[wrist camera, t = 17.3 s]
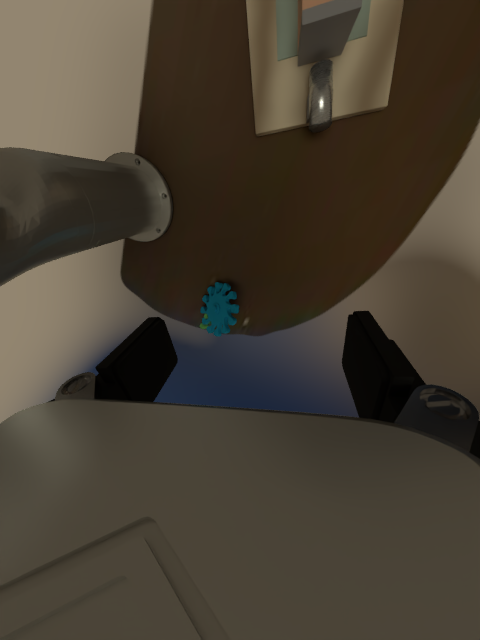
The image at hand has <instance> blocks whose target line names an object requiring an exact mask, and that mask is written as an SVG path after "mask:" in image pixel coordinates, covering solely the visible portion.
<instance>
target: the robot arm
mask: <svg viewBox="0 0 480 640" xmlns="http://www.w3.org/2000/svg"><path fill="white" fill-rule="evenodd" d="M165 195H167V198H166V196H165ZM172 215H173V202H172V197H171V193H170V190H169V187H168V185H167V183H166V181H165V179H164V177H163V176H162V174H161V173H160V172H159V170H158V169H157V168H156V167H155V166H154V165H153V164H152V163H151V162H149V161H148V160H146V159H145V158H143V157H141V156H139V155H136V154H132V153H125V152H121V153H117V154H113V155H112V156H110V157H108V158H107V159H106V160H105V161H98V160H92V159H86V158H79V157H73V156H67V155H61V154H55V153H48V152H42V151H35V150H30V149H24V148H11V147H9V148H0V286H2V285H3V284H5V283H7V282H9V281H10V280H12V279H14V278H15V277H17V276H19V275H21V274H23V273H25V272H26V271H28V270H31V269H32V268H35V267H37V266H39V265H42V264H45V263H47V262H50V261H52V260H56V259H59V258H61V257H65V256H68V255H71V254H75V253H78V252H81V251H84V250H88V249H91V248H94V247H98V246H101V245H104V244H107V243H111V242H114V241H117V240H121V239H124V238H127V237H128V238H131V239H133V240H136V241H141V242H148V241H152V240H155V239H157V238H159V237H161V236H162V235H163V234H164V233H165V232H166V231H167V229H168V227H169V226H170V223H171V220H172ZM160 230H161V231H160ZM177 360H178V359H177V355H176V352H175V349H174V347H173V344H172V341H171V338H170V335H169V333H168V330H167V327H166V324H165V322H164V320H162V319H161V318H159V317H151V318H148V319H146V320H145V321H144V322H143V323H142V324H141V325H140V326H139V327H138V328H137V329H136V330H135V331H134V332H133V333H132V334H130V335H129V336H128V337H127V338H126V339H125V340H124V341H123V342H122V343H121V344H120V345H119V346H118V347H117V348H116V349H115V350H114V351H112V352H111V353H110V355H108V356H107V357H106V358H105V359H104V360H103V361H102V362H101V363H100V364H99V365H97V366H96V370H97V371H98V373H99V374H98V375H97V376H95V374H93V373H90V372H87V373H82V374H79V375H77V376H74V377H72V378H71V379H69V380H68V381H66V382H65V383H64V384H62V386H61V387H60V388H59V389H58V391H57V393H56V397H55V399H53V400H51V401H49V402H47V403H43V404H39V405H36V406H33V407H30V408H27V409H25V410H22V411H20V412H18V413H15V414H14V415H12V416H11V417H9V418H8V419H6V420H5V421H3V422H2V423H1V424H0V640H480V421H479V412H478V410H477V409H476V407H475V406H474V405H473V404H472V403H471V402H470V401H469V400H468V399H467V398H465V397H464V396H462V395H461V394H459V393H457V392H455V391H453V390H451V389H449V388H445V387H442V386H438V385H432V384H431V385H426V384H425V383H424V381H423V380H422V378H421V377H420V376H419V374H418V373H417V372H416V370H415V369H414V368H413V366H412V365H411V363H410V362H409V361H408V359H407V358H406V357H405V355H404V354H403V353H402V351H401V350H400V348H399V347H398V346H397V345H396V343H395V342H394V341H393V340H389V339H388V338H387V336H386V335H385V333H384V332H383V331H382V329H381V328H380V326H379V325H378V323H377V322H376V321H375V319H374V318H373V316H372V315H371V313H370V312H369V311H355V312H353V315H349V316H348V322H347V329H346V336H345V343H344V350H343V358H342V366H343V370H344V373H345V376H346V379H347V382H348V385H349V388H350V390H351V393H352V397H353V400H354V403H355V406H356V409H357V412H358V415H359V418H357V417H349V416H338V415H328V414H316V413H304V412H290V411H277V410H264V409H249V408H236V407H221V406H206V405H191V404H176V403H159V402H153V401H154V400H155V398H156V397H157V395H158V393H159V392H160V390H161V389H162V387H163V385H164V384H165V382H166V380H167V379H168V377H169V375H170V374H171V372H172V371H173V369H174V367H175V366H176V364H177Z"/></svg>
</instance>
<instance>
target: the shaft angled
mask: <svg viewBox="0 0 480 640" xmlns="http://www.w3.org/2000/svg"><path fill="white" fill-rule="evenodd" d="M332 97H333V62H332V61H331V60H329V59H324V60H321V61H318V62H317V63H315V64H314V65H313V66H312V67H311V69H310V71H309V131H311V132H321V131H324V130H326V129H327V128H329V127H330V126H331V124H332Z"/></svg>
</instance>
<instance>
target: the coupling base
mask: <svg viewBox="0 0 480 640" xmlns="http://www.w3.org/2000/svg"><path fill="white" fill-rule="evenodd" d="M403 2H404V0H362V7H361V9H360V12H359V14H358V17H357V19H356V21H355V24H354V26H353V28H352V31H351V33H350V35H349V38H348V40H347V42H346V45H345V47H344V50H343V52H342V54H341V55H338V56H334V57H331V58H327V59H329V60H331V61H332V62H333V97H332V121H333V120H338V119H342V118H347V117H352V116H356V115H361V114H366V113H371V112H375V111H380V110H383V109H384V108H385V107H386V106H387V105H388V98H389V92H390V85H391V79H392V73H393V66H394V60H395V54H396V47H397V41H398V34H399V28H400V22H401V15H402V9H403ZM246 5H247V19H248V33H249V46H250V60H251V74H252V88H253V101H254V115H255V129H256V135H257V136H262V135H267V134H272V133H276V132H281V131H286V130H290V129H295V128H300V127H305V126H309V71H310V69H311V67H312V66H313V65H314V64H315V63H317V62H318V61H316V62H312V63H309V64H305V65H301V66H298V0H246ZM323 60H324V59H323ZM320 61H321V60H320Z"/></svg>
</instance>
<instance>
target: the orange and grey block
mask: <svg viewBox="0 0 480 640" xmlns="http://www.w3.org/2000/svg"><path fill="white" fill-rule="evenodd" d="M361 7H362V0H298V66H301V65H305V64H309V63H312V62H316V61H320V60H323V59H327V58H331V57H334V56H338V55H341V54H342V52H343V50H344V47H345V45H346V42H347V40H348V38H349V35H350V33H351V31H352V28H353V26H354V24H355V21H356V19H357V17H358V14H359V12H360V9H361Z"/></svg>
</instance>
